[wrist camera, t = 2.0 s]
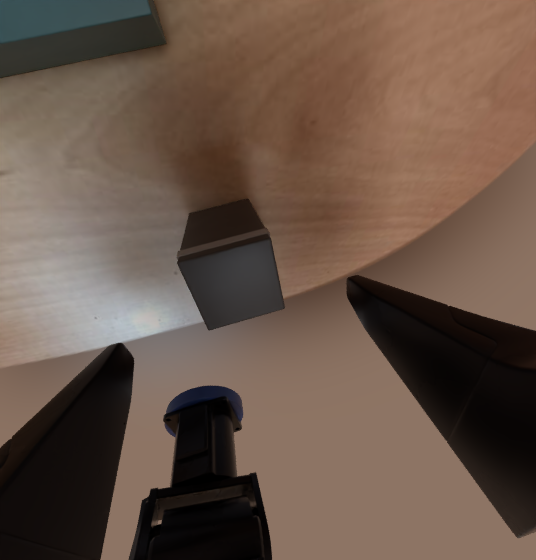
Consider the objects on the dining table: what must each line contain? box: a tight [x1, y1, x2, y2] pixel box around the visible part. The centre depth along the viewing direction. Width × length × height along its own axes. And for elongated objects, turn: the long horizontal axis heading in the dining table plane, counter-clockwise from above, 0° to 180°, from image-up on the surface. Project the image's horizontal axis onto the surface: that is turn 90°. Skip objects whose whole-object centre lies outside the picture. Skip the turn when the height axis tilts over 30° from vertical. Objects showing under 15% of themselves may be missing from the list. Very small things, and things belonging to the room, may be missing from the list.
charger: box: [177, 199, 285, 330], centre depth 14 cm, size 4×4×7 cm
